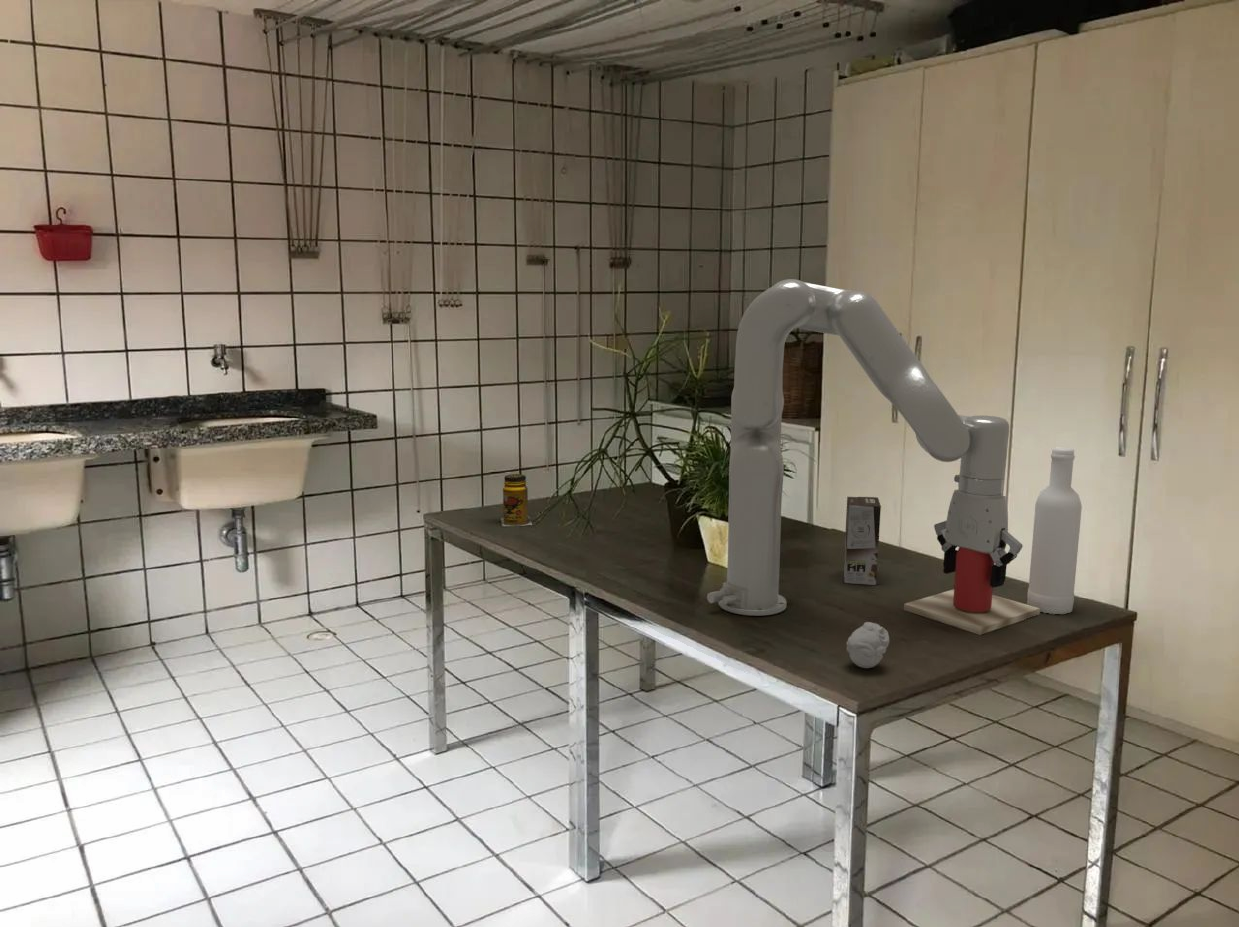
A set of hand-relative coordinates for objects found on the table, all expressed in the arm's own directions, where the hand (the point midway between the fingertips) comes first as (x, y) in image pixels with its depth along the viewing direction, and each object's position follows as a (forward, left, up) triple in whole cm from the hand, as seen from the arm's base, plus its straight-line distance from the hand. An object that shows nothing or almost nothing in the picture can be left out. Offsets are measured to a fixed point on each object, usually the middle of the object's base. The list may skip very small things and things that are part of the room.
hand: (972, 578), depth 180 cm
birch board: (+1, +1, -7) cm, 7 cm away
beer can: (0, 0, -6) cm, 6 cm away
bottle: (+15, -6, -7) cm, 18 cm away
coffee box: (+1, +27, -7) cm, 28 cm away
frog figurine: (-35, -5, -7) cm, 36 cm away
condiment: (-32, +108, -7) cm, 112 cm away
